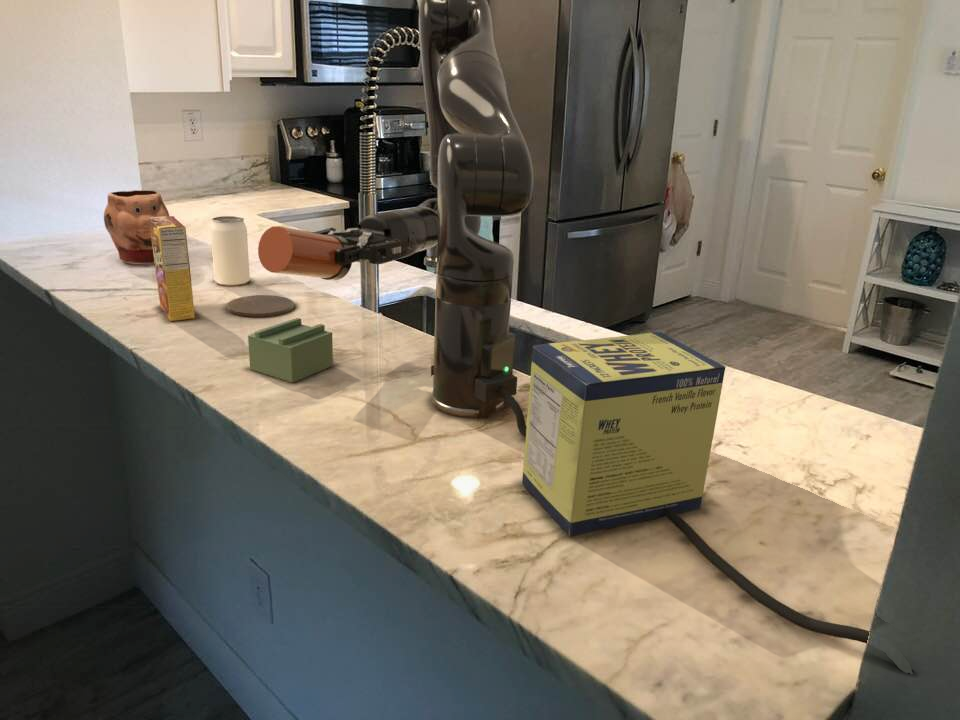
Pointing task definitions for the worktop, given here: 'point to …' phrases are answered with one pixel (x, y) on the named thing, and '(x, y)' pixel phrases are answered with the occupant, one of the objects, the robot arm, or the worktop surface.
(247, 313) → the coaster
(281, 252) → the jar
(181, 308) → the candy box
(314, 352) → the stand
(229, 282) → the can
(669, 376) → the protein box
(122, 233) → the decorative planter
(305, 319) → the worktop surface
